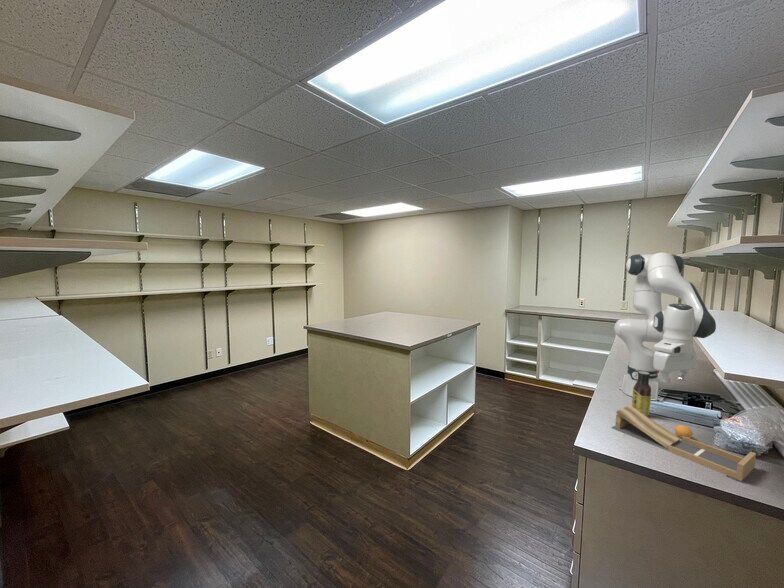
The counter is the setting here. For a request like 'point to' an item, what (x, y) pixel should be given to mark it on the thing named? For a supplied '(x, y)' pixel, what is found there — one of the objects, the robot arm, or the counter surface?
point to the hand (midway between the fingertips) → (674, 381)
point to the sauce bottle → (642, 393)
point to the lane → (702, 454)
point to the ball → (683, 431)
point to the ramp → (644, 425)
